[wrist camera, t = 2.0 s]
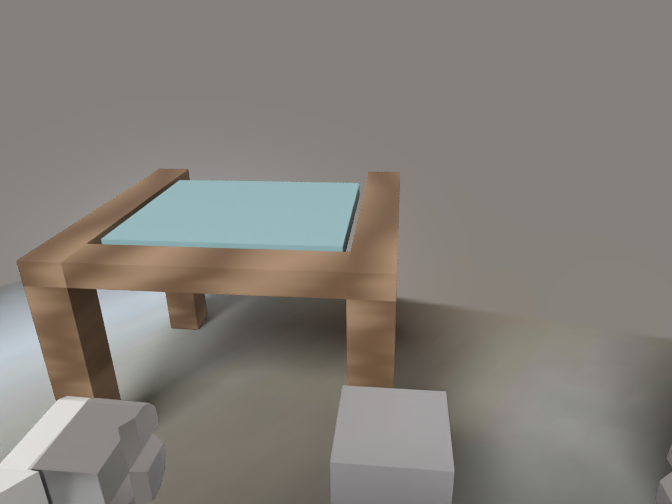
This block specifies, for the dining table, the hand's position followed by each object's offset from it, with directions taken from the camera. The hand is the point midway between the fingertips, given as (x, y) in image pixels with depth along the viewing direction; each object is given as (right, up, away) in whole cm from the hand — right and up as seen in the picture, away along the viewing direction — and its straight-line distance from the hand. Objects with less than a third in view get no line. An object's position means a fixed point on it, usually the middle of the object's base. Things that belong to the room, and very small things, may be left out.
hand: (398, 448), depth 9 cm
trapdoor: (-7, +5, +28) cm, 29 cm away
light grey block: (+2, -13, +19) cm, 23 cm away
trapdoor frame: (-7, -7, +33) cm, 34 cm away
